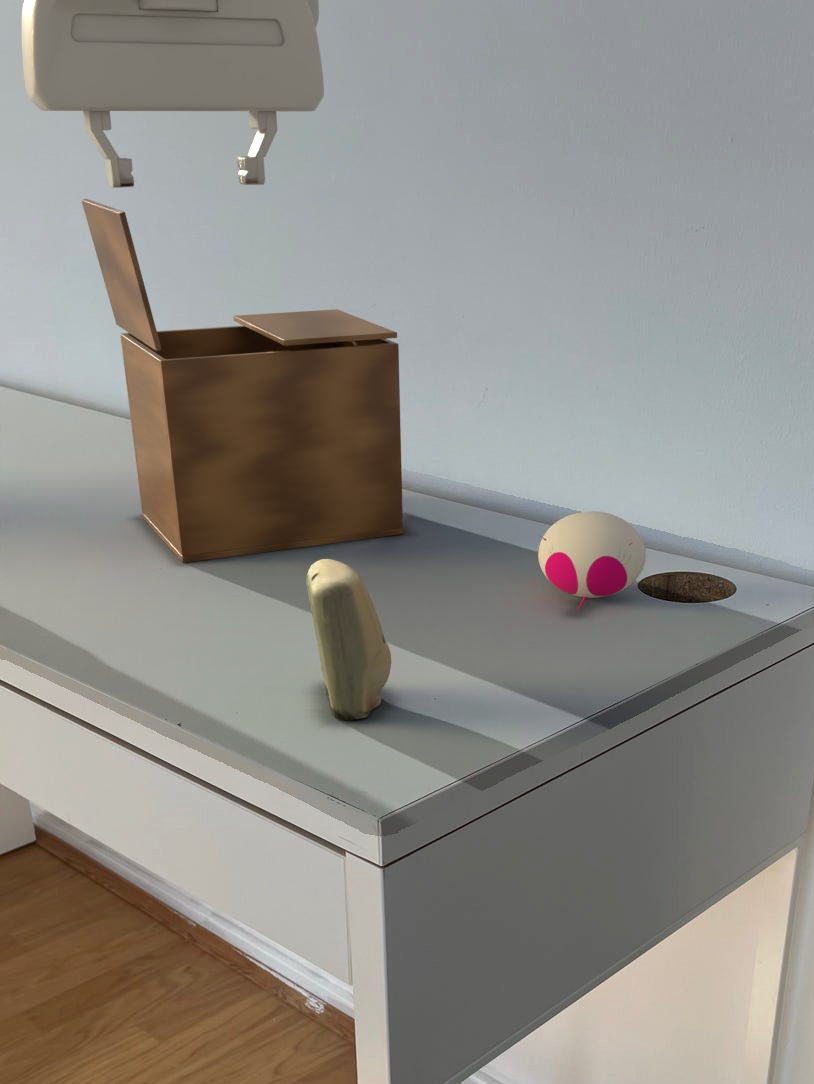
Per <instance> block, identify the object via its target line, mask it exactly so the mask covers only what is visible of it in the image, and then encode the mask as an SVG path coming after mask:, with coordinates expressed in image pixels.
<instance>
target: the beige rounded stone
mask: <svg viewBox="0 0 814 1084" xmlns="http://www.w3.org/2000/svg"><path fill="white" fill-rule="evenodd" d="M305 579H306V588H307V595H308V600H309V603H310V604H309V605H310V608H311V615H312V622H313V627H314V632H315V639H316V643H317V648H318V656H319V662H320V667H321V672H322V676H323V680H324V684H325V695H326V697H327V699H328V704H329V708H330V711H331V715H332V717H334V718H335V719H338V720H342V721H343V720H344V721H346V720H348V721H349V720H351V721H352V720H359V719H364V718H367V717H368V716H370V714H371V711H372V710H373V709H375V708H378V707H379V706H380V705H381V703H382V697H381V696H379V694H380V693H381V691H382V690H383V689H384V687H385V686H386V684H387V682H388V680H389V677H390V674H391V668H392V655H391V653H392V652H391V650H390V647H389V644H388V643H387V641H386V639H385V636H384V631H383V628H382V627H383V626H382V624H381V623H380V622H381V621H380V620H379V616H378V613H377V610H376V608H375V605H374V603H373V600H372V598H371V595H370V594H369V592H368V590H367V588H366V585H365V584H364V581H363V580H362V577H361V576H360V574H359V573H358V571H356V570H355V569H354V568H352V566H351V567H350V566H349V565H347V564H345V563H343V562H342V561H338V560H336V559H330V558H323V559H322V558H321V559H319V560H317V561H314V563H312V564H311V565H310V567H309V568H308V572H307V573H306V578H305Z"/></svg>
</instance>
